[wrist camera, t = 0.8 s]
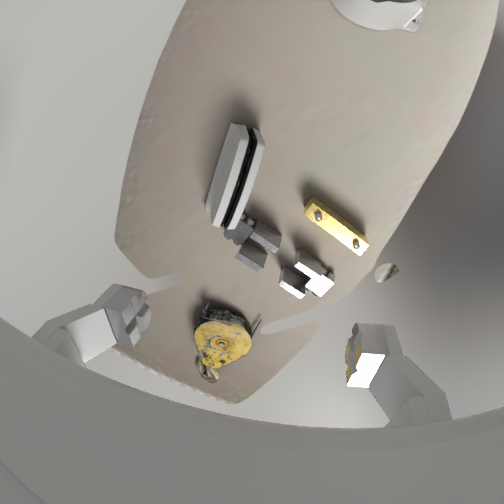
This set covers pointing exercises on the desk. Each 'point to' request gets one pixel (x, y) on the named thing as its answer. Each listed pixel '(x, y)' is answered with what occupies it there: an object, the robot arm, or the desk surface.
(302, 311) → the desk surface
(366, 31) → the desk surface
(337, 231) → the brass block with peg
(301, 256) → the chain end
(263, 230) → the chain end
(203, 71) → the desk surface
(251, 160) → the grey half-round block
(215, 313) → the pulley block
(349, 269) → the desk surface
